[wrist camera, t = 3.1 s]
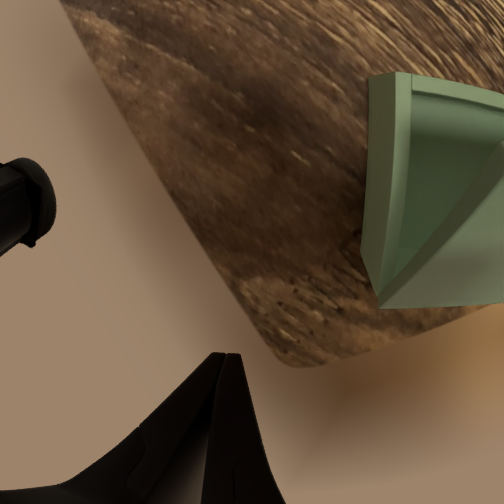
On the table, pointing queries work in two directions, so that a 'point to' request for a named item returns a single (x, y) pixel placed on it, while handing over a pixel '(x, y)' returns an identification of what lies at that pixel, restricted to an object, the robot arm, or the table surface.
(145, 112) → the table surface
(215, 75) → the table surface
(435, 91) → the green square tray
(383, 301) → the lid
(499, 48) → the table surface
